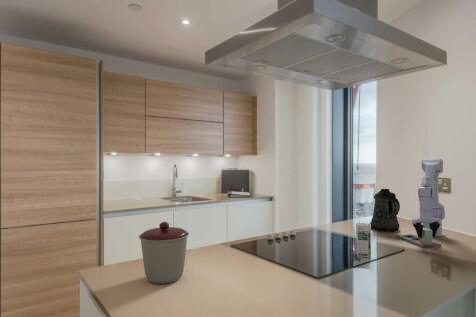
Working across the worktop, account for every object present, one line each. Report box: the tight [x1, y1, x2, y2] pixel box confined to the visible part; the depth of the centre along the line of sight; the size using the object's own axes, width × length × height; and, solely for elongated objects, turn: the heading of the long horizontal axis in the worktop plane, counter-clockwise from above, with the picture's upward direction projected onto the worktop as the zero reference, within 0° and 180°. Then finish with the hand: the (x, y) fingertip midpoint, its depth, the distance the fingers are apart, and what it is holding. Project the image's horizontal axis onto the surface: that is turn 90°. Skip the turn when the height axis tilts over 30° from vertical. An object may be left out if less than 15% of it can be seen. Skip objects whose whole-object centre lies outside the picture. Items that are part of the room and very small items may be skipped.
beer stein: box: [369, 188, 401, 233], centre depth 195 cm, size 16×19×25 cm
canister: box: [138, 221, 190, 285], centre depth 118 cm, size 18×18×21 cm
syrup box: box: [355, 222, 372, 258], centre depth 144 cm, size 6×6×14 cm
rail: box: [395, 234, 442, 249], centre depth 167 cm, size 21×10×1 cm, turn 7°
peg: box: [420, 228, 433, 244], centre depth 161 cm, size 4×4×8 cm
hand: (426, 237), depth 160 cm, fingers open, 7 cm apart
